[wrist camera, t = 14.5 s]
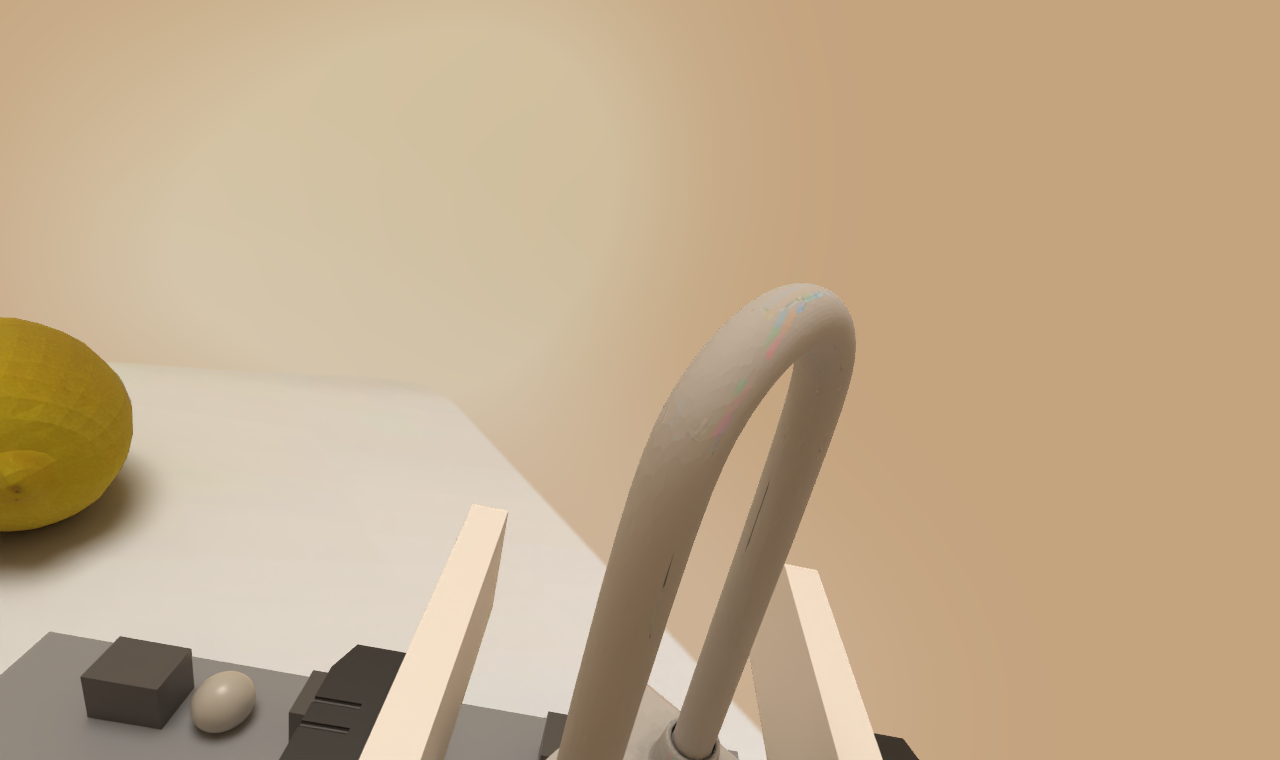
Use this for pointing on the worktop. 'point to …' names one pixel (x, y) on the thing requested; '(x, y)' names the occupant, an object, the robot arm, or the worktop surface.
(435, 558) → the worktop surface
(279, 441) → the worktop surface
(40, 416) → the lemon
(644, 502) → the padlock
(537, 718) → the board
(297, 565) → the worktop surface
